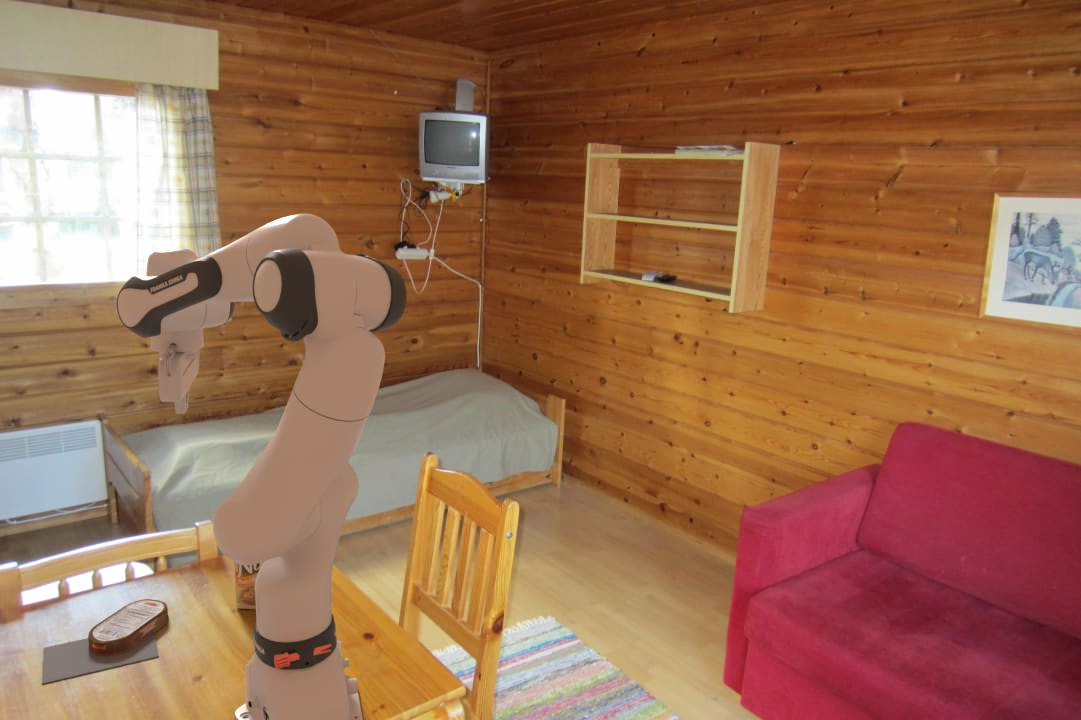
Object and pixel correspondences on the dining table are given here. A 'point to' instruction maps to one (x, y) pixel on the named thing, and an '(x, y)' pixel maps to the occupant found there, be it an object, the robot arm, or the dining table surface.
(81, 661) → the felt mat
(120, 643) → the tin
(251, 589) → the candy box
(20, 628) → the dining table surface
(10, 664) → the dining table surface
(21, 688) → the dining table surface
